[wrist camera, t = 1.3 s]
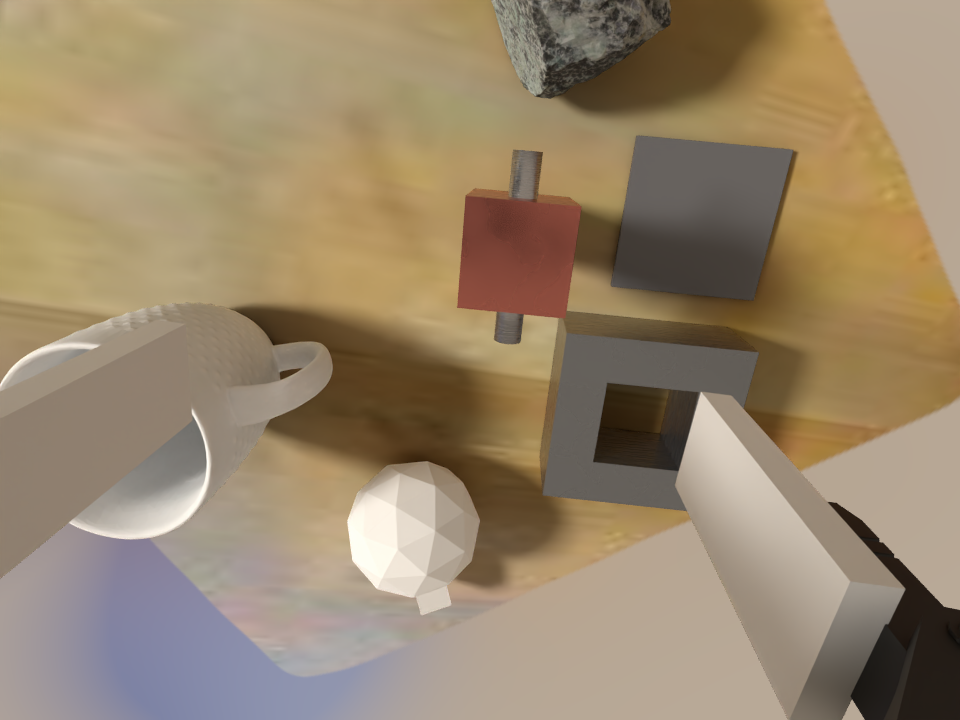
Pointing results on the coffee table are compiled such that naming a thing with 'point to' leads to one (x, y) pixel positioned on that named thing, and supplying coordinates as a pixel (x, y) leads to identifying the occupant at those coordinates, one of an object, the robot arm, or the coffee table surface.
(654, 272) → the mat
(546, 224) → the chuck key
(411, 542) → the perfume bottle
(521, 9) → the stone
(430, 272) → the coffee table surface
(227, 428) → the mug
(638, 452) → the block
